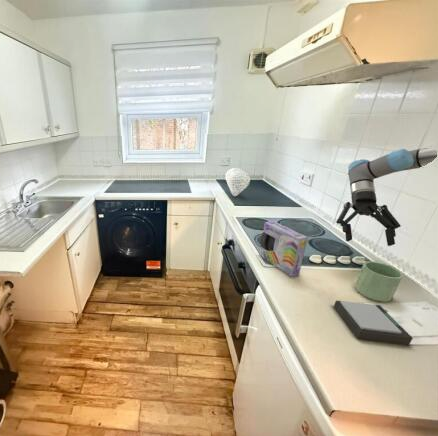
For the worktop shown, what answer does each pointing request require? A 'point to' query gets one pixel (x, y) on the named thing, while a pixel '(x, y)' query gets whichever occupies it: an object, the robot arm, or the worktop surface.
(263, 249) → the cake pan box
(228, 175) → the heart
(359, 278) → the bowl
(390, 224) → the robot arm
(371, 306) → the scale
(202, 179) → the worktop surface
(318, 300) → the worktop surface
